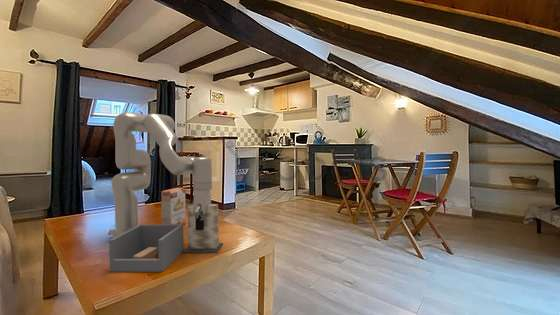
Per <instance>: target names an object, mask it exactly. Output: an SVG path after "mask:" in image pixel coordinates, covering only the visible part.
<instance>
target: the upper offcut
mask: <svg viewBox="0 0 560 315" xmlns="http://www.w3.org/2000/svg"><path fill="white" fill-rule="evenodd" d="M157 255H159V252H158V247H149V248H147V249H145V250H143V251H141V252H140V253H138V254H136V255H134V256H133V259H151V258H152V257H153V258H155V256H157Z"/></svg>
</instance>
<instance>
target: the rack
mask: <svg viewBox="0 0 560 315" xmlns="http://www.w3.org/2000/svg"><path fill="white" fill-rule="evenodd" d="M112 238H113V237H112ZM112 238H110V239H109V240H108V245H109V246H108V247H109V250H108V251H109V252H108V253H109V254H108V255H109V272H110V271H112V273H114V272H115V273H117V272H118V273H119V272H120V273H129V272H130V273H137V272H138V273H140V272H141V273H143V272H144V273H145V272H148V273H149V272H152V273H155V272H156V273H160V272H161V273H162V272H164V271H165V269H167V268H168V267H169V265H171V264H172V263H173V262H174V261H175V260H176V259H177V258H178V257H179V256H180V255H181V254H182V253H183V251H184V250H185V248H184V246H185V244H184V241H185V240H184V225H162V224H138V226H136V227H134V228H132V229H130V230H128V231H126V232H124V233H122V234H120V235H118V236H117V237H115V238H113V239H112ZM149 247H158V258H155V259H132V257H133V256H134V255H136V254H138V253H140V252H141V251H143V250H145V249H147V248H149Z"/></svg>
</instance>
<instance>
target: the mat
mask: <svg viewBox="0 0 560 315" xmlns="http://www.w3.org/2000/svg"><path fill="white" fill-rule="evenodd" d="M223 245H224V243H223V242H219V246H218V248H191V249H189V245H187V247H186V248H184V251H183V252H182V253H183V254H218V253H219V251H220V250H221V248H222V247H223Z"/></svg>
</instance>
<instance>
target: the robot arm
mask: <svg viewBox="0 0 560 315" xmlns="http://www.w3.org/2000/svg"><path fill="white" fill-rule="evenodd" d="M112 125H113V126H112V127H113V128H112V129H113V133H114V140H115V143H114V144H115V146H114V147H115V148H114V149H115V154H114V156H115V164H116V168H118V169H119V170H124V171H125V170H126V171H125V172H120V173H118V174H116V175H114V176H112V179H111V183H110V184H111V190H112V193H113V199H114V218H115V219H114V222H115V223H114V225H115V226H114V227H115V229H109V230H108V233H107V234H108V236H112V238H111V239H113V238H115V237H117V236H118V235H120V234H122V233H124V232H126V231H128V230H130V229H132V228H134V227H136V226H138V225H139V202H138V201H139V200H138V198H137V195H136V194H135V192H137V191H141V190H145V189H147V188H148V187H149V186H150V184H151V177H152V176H151V175H152V174H151V172H152V162H151V161H152V160H151V156H150V155H149V153H148V151H146V150H144V149H137V139H136V137H135V135H134V134H133V132H137V133H148V134H150V136H151V137H152V139H153V140H154V141H155V142H156V144H157V145H158V146H159V151H158V152H159V158H160V161H161V162H162V164H163V165H164V166H165V168H166V169H167V170H168V171H169V172H170V173H171V174H172V175H175V176H183V175H184V176H185V175H191V174H192V175H193V176H192V183H193V186H192V187H193V203H192V204H193V214H194V215H195V221H196V230H204V220H203V216H204V214H206V213H207V207H208V205H209V204H212V195H211V194H212V193H211V191H212V190H213V175H212V174H213V172H212V171H213V168H212V167H213V166H212V159H211V157H209V156H198V157H197V156H179V155H178V154H177V153H176V151H175V150H174V148H173V146H174V145H175V144H176V143H177V141H178V136H177V134H176V133H175V132H174V131H175V128H176V123H175V121H174V118H173V117H171V116H169V115H167V114H159V113H149V114H142V113H137V112H128V111H127V112H123V113H120V114H119V113H118V115H117V116H116V117H115V118H114V121H113V124H112ZM127 170H134V171H127ZM200 215H201V216H200Z"/></svg>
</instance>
